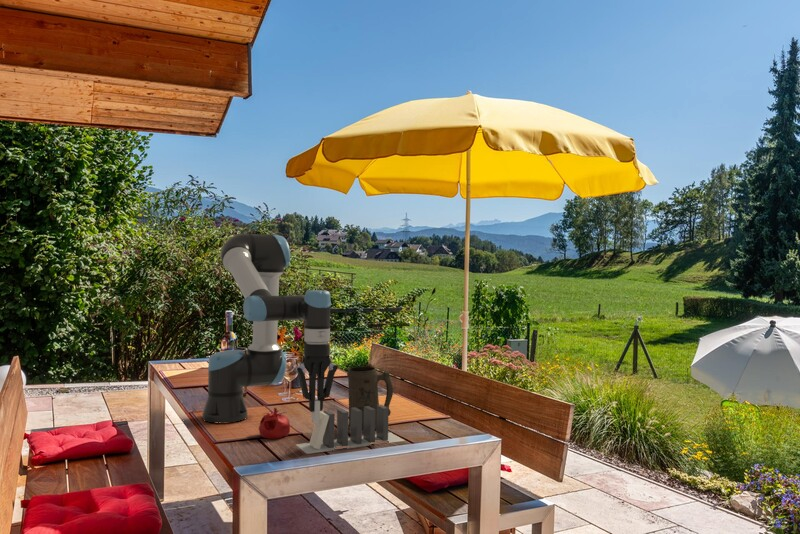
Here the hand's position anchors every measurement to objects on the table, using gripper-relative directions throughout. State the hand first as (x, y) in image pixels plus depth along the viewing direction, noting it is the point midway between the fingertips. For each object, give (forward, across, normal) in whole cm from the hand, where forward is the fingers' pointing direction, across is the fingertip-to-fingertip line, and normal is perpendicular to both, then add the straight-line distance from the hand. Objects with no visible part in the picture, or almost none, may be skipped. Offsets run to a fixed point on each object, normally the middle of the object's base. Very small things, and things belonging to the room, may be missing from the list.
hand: (315, 422), depth 184 cm
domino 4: (+8, +13, 0) cm, 15 cm away
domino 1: (+7, 0, 0) cm, 7 cm away
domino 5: (+8, +18, 0) cm, 19 cm away
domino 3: (+8, +9, 0) cm, 11 cm away
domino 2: (+8, +4, 0) cm, 9 cm away
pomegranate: (+8, -8, +17) cm, 20 cm away
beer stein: (+8, +24, +15) cm, 30 cm away
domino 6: (+8, +22, 0) cm, 23 cm away
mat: (+8, +12, 0) cm, 14 cm away
